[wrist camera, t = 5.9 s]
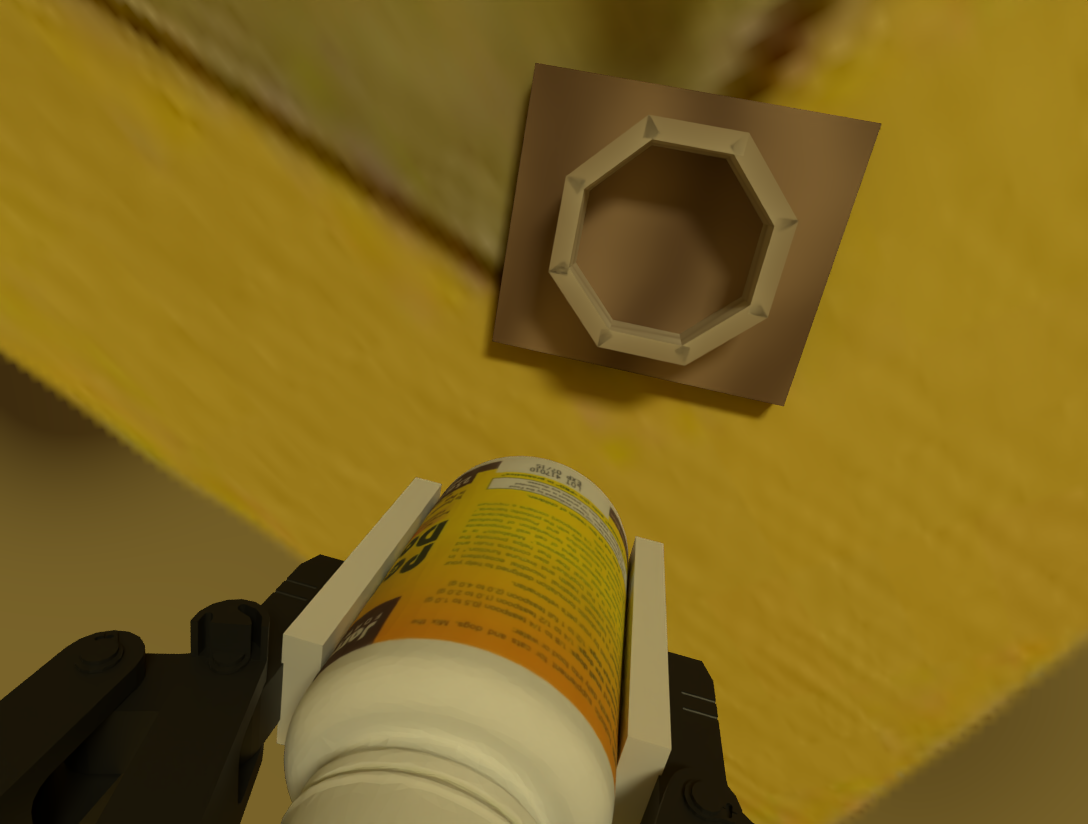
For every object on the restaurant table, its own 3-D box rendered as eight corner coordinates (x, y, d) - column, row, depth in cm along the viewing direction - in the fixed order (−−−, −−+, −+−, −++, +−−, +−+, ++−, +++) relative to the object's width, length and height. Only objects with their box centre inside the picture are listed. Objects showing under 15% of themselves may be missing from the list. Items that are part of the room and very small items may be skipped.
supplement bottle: (472, 414, 16) (219, 733, 7) (663, 499, 16) (688, 944, 6) (412, 572, 18) (151, 988, 9) (581, 647, 18) (506, 1151, 8)
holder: (498, 336, 30) (478, 352, 27) (540, 69, 26) (523, 48, 22) (778, 398, 29) (795, 424, 25) (871, 127, 25) (906, 114, 21)
